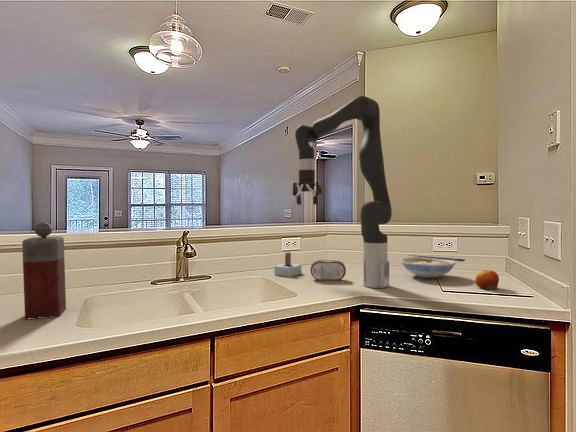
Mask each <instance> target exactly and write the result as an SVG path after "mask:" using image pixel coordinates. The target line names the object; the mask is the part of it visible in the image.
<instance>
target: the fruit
mask: <svg viewBox="0 0 576 432" xmlns="http://www.w3.org/2000/svg"><path fill="white" fill-rule="evenodd" d="M499 277H500V276H499V275H498V273H497V272H496V271H494V270H491V269H485V270H483V271H479V272H478V273H477V274H476V276H475V278H474V282H475V285H476V286H477V287H478V288H479V289H481V290H492V291H493V289H494V288H495V289H498V286H499V282H500V278H499Z"/></svg>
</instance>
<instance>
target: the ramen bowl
mask: <svg viewBox="0 0 576 432" xmlns="http://www.w3.org/2000/svg"><path fill="white" fill-rule="evenodd" d="M465 260H466V259H464V258H453V257H442V256H441V257H439V256H438V257H436V256H427V255H425V256H424V255H417V256H416V255H413V254H409V255H408V256H406V257H402V258H400V262H401V264H402V265H403V268H405V270H406V271H408V272H409V273H411V274H413V275H415V276H417V277H418V278H421V279H437V278H438V277H441V276H444V275H446V274H448V273H449V272H450V271H452V269H453V268H454V267H455V265H456V263H457V262H465Z"/></svg>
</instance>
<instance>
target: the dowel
mask: <svg viewBox="0 0 576 432" xmlns="http://www.w3.org/2000/svg"><path fill="white" fill-rule="evenodd" d="M291 258H292V253H291V252H288V251H286V252H284V260H285V261H284V264H285V266H287V267H290V266H291V264H292V262H291V261H292V259H291Z"/></svg>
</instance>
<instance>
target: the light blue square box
mask: <svg viewBox="0 0 576 432" xmlns="http://www.w3.org/2000/svg"><path fill="white" fill-rule="evenodd" d="M273 268H274V275H275V276H282V277H290V278H291V277H295V276H298V275H300V274H302V273H303V272H302V264H298V263H295V264H294V263H291V266H290V267H287V266H285V263H281V264H278V265H274V267H273Z"/></svg>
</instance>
